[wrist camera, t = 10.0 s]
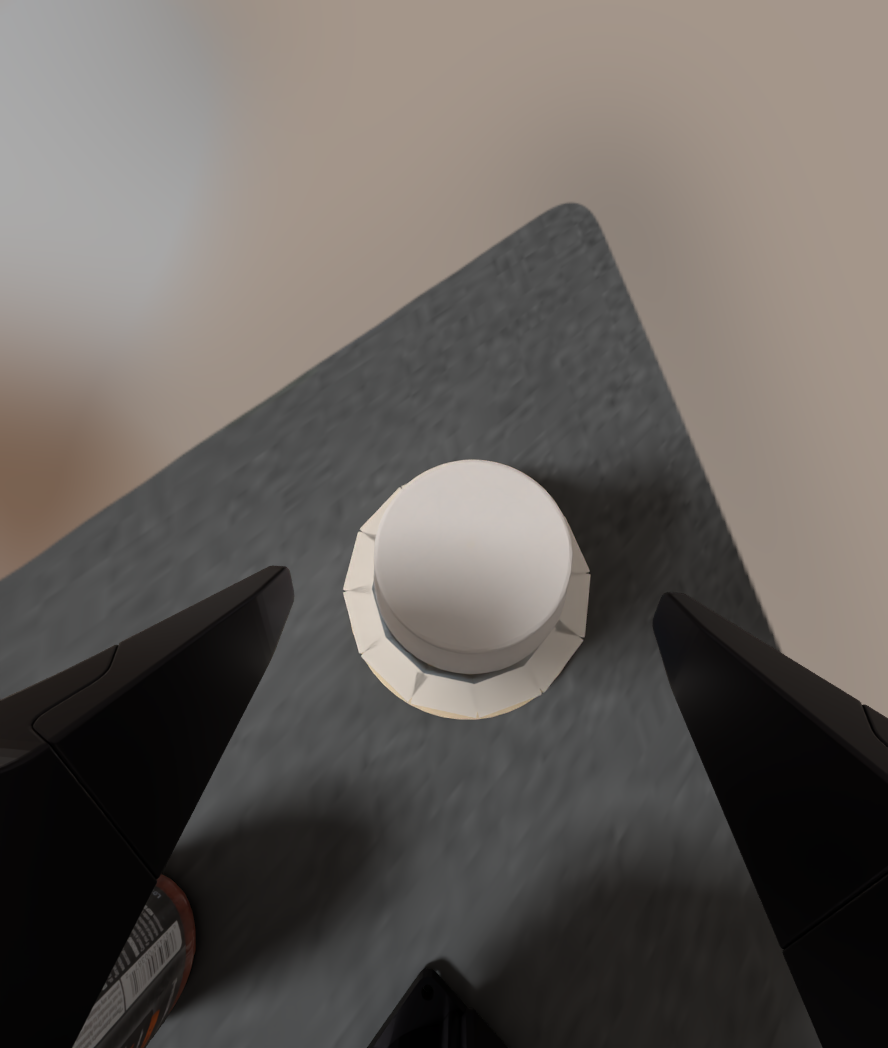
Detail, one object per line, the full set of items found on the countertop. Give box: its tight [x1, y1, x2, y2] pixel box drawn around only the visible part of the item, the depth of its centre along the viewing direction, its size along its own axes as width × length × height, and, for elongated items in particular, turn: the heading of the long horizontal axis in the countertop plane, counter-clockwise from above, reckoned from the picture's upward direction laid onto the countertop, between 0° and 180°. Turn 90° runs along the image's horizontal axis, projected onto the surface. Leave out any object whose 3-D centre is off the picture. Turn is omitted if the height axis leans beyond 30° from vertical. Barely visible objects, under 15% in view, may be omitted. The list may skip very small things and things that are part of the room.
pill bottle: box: [374, 460, 573, 674], centre depth 14 cm, size 6×6×11 cm
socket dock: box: [343, 485, 591, 719], centre depth 18 cm, size 12×12×4 cm
